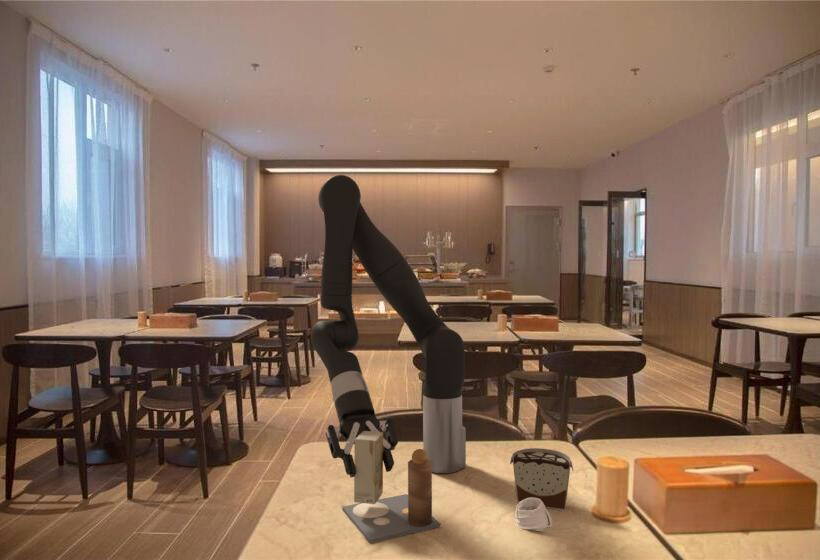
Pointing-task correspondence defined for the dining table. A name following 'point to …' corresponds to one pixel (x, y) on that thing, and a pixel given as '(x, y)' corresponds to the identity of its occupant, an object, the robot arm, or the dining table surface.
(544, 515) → the white crumpled cloth
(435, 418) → the robot arm
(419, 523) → the walnut tube
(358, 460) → the skincare box
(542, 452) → the food container
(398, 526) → the card
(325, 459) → the dining table surface
